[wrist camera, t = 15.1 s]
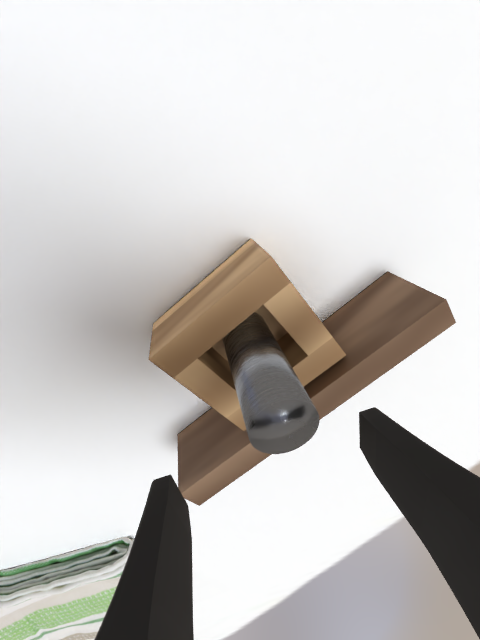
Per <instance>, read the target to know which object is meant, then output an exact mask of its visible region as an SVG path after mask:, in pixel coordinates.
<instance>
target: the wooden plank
mask: <svg viewBox="0 0 480 640" xmlns="http://www.w3.org/2000/svg"><path fill="white" fill-rule="evenodd" d="M455 323H456V322H455V319H454V317H453V315H452V312H451V310H450V307H449V305H448V303H447V300H446V299H444V298H442V297H440V296H438V295H436V294H434V293H431V292H429V291H427V290H425V289H423V288H421V287H419V286H417V285H415V284H413V283H411V282H409V281H406V280H404V279H402V278H400V277H398V276H396V275H394V274H392V273H390V272H387V273H385V274H384V275H383V276H381V277H380V278H379V279H378V280H376V281H375V282H374V283H372V284H371V285H370V286H368V287H367V288H366V289H365V290H363V291H362V292H361V293H359V294H358V295H357V296H356V297H354V298H353V299H352V300H350V301H349V302H348V303H347V304H345V305H344V306H343V307H341V308H340V309H339V310H338V311H336V312H335V313H334V314H332V315H331V316H330V317H328V318H327V319H326V320H325V321H323V322H322V324H323V325H324V326H325V328H326V329H327V330H328V331H329V333H330V334H331V335H332V337H333V338H334V339H335V341H336V342H337V343H338V345H339V346H340V347H341V349H342V350H343V351H344V352H345V354H346V356H344V357H343V358H342V359H340V360H339V361H338V362H336V363H335V364H334V365H332V366H331V367H330V368H328V369H327V370H326V371H324V372H323V373H322V374H320V375H319V376H317V377H316V378H315V379H313V380H312V381H311V382H309V383H308V384H307V385H305V386H304V389H305V391H306V392H307V394H308V396H309V397H310V399H311V401H312V403H313V404H314V406H315V408H316V410H317V411H318V414H319V420H320V419H322V418H323V417H324V416H326V415H327V414H329V413H330V412H331V411H333V410H334V409H336V408H337V407H338V406H340V405H341V404H343V403H344V402H345V401H347V400H348V399H350V398H351V397H352V396H354V395H355V394H357V393H358V392H359V391H361V390H362V389H364V388H365V387H366V386H368V385H369V384H371V383H372V382H373V381H375V380H376V379H378V378H379V377H380V376H382V375H383V374H385V373H386V372H387V371H389V370H390V369H392V368H393V367H394V366H396V365H397V364H399V363H400V362H401V361H403V360H404V359H406V358H407V357H408V356H410V355H411V354H413V353H414V352H415V351H417V350H418V349H420V348H421V347H422V346H424V345H425V344H427V343H428V342H429V341H431V340H432V339H434V338H435V337H436V336H438V335H439V334H441V333H442V332H443V331H445V330H446V329H448V328H449V327H450V326H452V325H453V324H455ZM270 455H271V454H268V453H263V452H261V451H259V450H257V449H256V448H254V447H253V446H252V444H251V443H250V441H249V437H248V434H247V430H245V431H243V430H242V429H240V428H239V427H238V426H236V425H235V424H234V423H232V422H231V421H230V420H228V419H227V418H226V417H224V416H223V415H222V414H220V413H219V412H218V411H216V410H215V409H214V408H211V409H210V410H208V411H207V412H206V413H205V414H203V415H202V416H201V417H199V418H198V419H197V420H196V421H194V422H193V423H192V424H190V425H189V426H188V427H187V428H185V429H184V430H183V431H181V432H180V433H179V434H178V489H179V490H180V492H181V494H182V496H183V498H185V499H187V500H189V501H191V502H193V503H195V504H197V505H199V506H200V505H201V504H202V503H204V502H205V501H207V500H208V499H209V498H211V497H212V496H214V495H215V494H216V493H218V492H219V491H221V490H222V489H223V488H225V487H226V486H228V485H229V484H230V483H232V482H233V481H235V480H236V479H237V478H239V477H240V476H242V475H243V474H244V473H246V472H247V471H249V470H250V469H251V468H253V467H254V466H256V465H257V464H258V463H260V462H261V461H263V460H264V459H265V458H267V457H268V456H270Z"/></svg>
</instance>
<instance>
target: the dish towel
mask: <svg viewBox="0 0 480 640" xmlns="http://www.w3.org/2000/svg"><path fill="white" fill-rule="evenodd" d="M133 542H134V539H129V538H128V537H121V538H117V539H114V540H110V541H107V542H103V543H99V544H95V545H92V546H89V547H86V548H83V549H79V550H76V551H73V552H70V553H66V554H63V555H57V556H53V557H50V558H48V559H45V560H40V561H36V562H32V563H28V564H25V565H21V566H18V567H15V568H12V569H5V570H0V640H94V639H95V637H96V635H97V633H98V631H99V628H100V626H101V624H102V621H103V619H104V617H105V614H106V612H107V610H108V607H109V605H110V603H111V600H112V598H113V595H114V593H115V590H116V587H117V585H118V582H119V580H120V577H121V575H122V572H123V570H124V567H125V564H126V562H127V559H128V556H129V553H130V550H131V548H132V545H133Z"/></svg>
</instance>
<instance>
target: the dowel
mask: <svg viewBox="0 0 480 640" xmlns="http://www.w3.org/2000/svg"><path fill="white" fill-rule="evenodd" d="M222 340H223V344H224V348H225V352H226V355H227V359H228V363H229V366H230V370H231V374H232V378H233V381H234V385H235V389H236V393H237V396H238V400H239V404H240V408H241V411H242V415H243V419H244V422H245V426H246V430H247V434H248V437H249V441H250V443H251V444H252V446H253V447H254V448H256V449H257V450H259V451H261V452H263V453H268V454H281V453H286V452H289V451H292V450H295V449H297V448H299V447H300V446H302V445H303V444H305V443H306V442H307V441H309V440H310V439H311V438H312V436H313V435H314V434H315V432H316V430H317V428H318V425H319V414H318V411H317V410H316V408H315V406H314V404H313V403H312V401H311V399H310V397H309V396H308V394H307V392H306V391H305V389H304V387H303V385H302V384H301V382H300V380H299V379H298V377H297V375H296V373H295V372H294V370H293V368H292V366H291V365H290V363H289V361H288V360H287V358H286V356H285V354H284V353H283V351H282V349H281V348H280V346H279V344H278V342H277V341H276V339H275V337H274V336H273V334H272V332H271V330H270V329H269V327H268V325H267V323H266V322H265V320H264V319H263V317H262V316H260V315H259V314H258V313H255V312H254V313H253V314H251V315H250V316H249V317H248V318H246V319H245V320H244V321H243V322H242V323H240V324H239V325H238V326H237V327H235V328H234V329H233V330H232V331H231V332H229V333H228V334H227V335H226V336H224V337H223V338H222Z"/></svg>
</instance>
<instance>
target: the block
mask: <svg viewBox="0 0 480 640" xmlns="http://www.w3.org/2000/svg"><path fill="white" fill-rule="evenodd" d="M254 312H255V313H258V314H259V315H260V316H262V317H263V319H264V320H265V322H266V323H267V325H268V327H269V329H270V330H271V332H272V334H273V336H274V337H275V339H276V341H277V342H278V344H279V346H280V348H281V349H282V351H283V353H284V354H285V356H286V358H287V360H288V361H289V363H290V365H291V366H292V368H293V370H294V372H295V373H296V375H297V377H298V379H299V380H300V382H301V384H302V385H303V387H304V386H305V385H307V384H308V383H309V382H311V381H312V380H313V379H315V378H316V377H317V376H319V375H320V374H322V373H323V372H324V371H326V370H327V369H328V368H330V367H331V366H332V365H334V364H335V363H336V362H338V361H339V360H340V359H342V358H343V357H344V356H346V354H345V352H344V351H343V350H342V349H341V347H340V346H339V345H338V343H337V342H336V341H335V339H334V338H333V337H332V335H331V334H330V333H329V331H328V330H327V329H326V328H325V326H324V325H323V324H322V322H321V321H320V320H319V318H318V317H317V316H316V314H315V313H314V312H313V311H312V309H311V308H310V307H309V305H308V304H307V303H306V301H305V300H304V299H303V297H302V296H301V295H300V293H299V292H298V291H297V290H296V288H295V287H294V286H293V284H292V283H291V282H290V280H289V279H288V278H287V276H286V275H285V274H284V273H283V271H282V270H281V269H280V267H279V266H278V265H277V263H276V262H275V261H274V259H273V258H272V257H271V256H270V255H269V254H268V253H267V252H266V251H265V250H264V249H262V248H261V247H260V246H259V245H258V244H257V243H256V242H255V241H254V240H252V239H250V240H249V241H248V242H247V243H245V244H244V245H243V246H242V247H241V248H240V249H238V250H237V251H236V252H235V253H234V254H233V255H232V256H230V257H229V258H228V259H227V260H226V261H225V262H224V263H222V264H221V265H220V266H219V267H218V268H217V269H215V270H214V271H213V272H212V273H211V274H210V275H209V276H207V277H206V278H205V279H204V280H203V281H202V282H200V283H199V284H198V285H197V286H196V287H195V288H194V289H192V290H191V291H190V292H189V293H188V294H187V295H186V296H184V297H183V298H182V299H181V300H180V301H179V302H177V303H176V304H175V305H174V306H173V307H172V308H171V309H169V310H168V311H167V312H166V313H165V314H164V315H162V316H161V317H160V318H159V319H158V320H157V321H156V322H154V323H153V330H152V337H151V345H150V353H149V360H150V361H151V362H152V363H154V364H155V365H156V366H158V367H159V368H160V369H162V370H163V371H164V372H166V373H167V374H168V375H170V376H171V377H172V378H174V379H175V380H176V381H178V382H179V383H180V384H182V385H183V386H184V387H186V388H187V389H188V390H190V391H191V392H192V393H194V394H195V395H196V396H198V397H199V398H200V399H202V400H203V401H204V402H206V403H207V404H208V405H210V406H211V407H212V408H214V409H215V410H216V411H218V412H219V413H220V414H222V415H223V416H224V417H226V418H227V419H228V420H230V421H231V422H232V423H234V424H235V425H236V426H238V427H239V428H240V429H242V430H243V431H245V430H246V426H245V422H244V419H243V415H242V411H241V408H240V404H239V400H238V396H237V393H236V389H235V385H234V381H233V378H232V374H231V370H230V366H229V363H228V359H227V355H226V352H225V348H224V344H223V340H222V338H223V337H224V336H226V335H227V334H228V333H229V332H231V331H232V330H233V329H234V328H235V327H237V326H238V325H239V324H240V323H242V322H243V321H244V320H245V319H246V318H248V317H249V316H250V315H251V314H253V313H254Z"/></svg>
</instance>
